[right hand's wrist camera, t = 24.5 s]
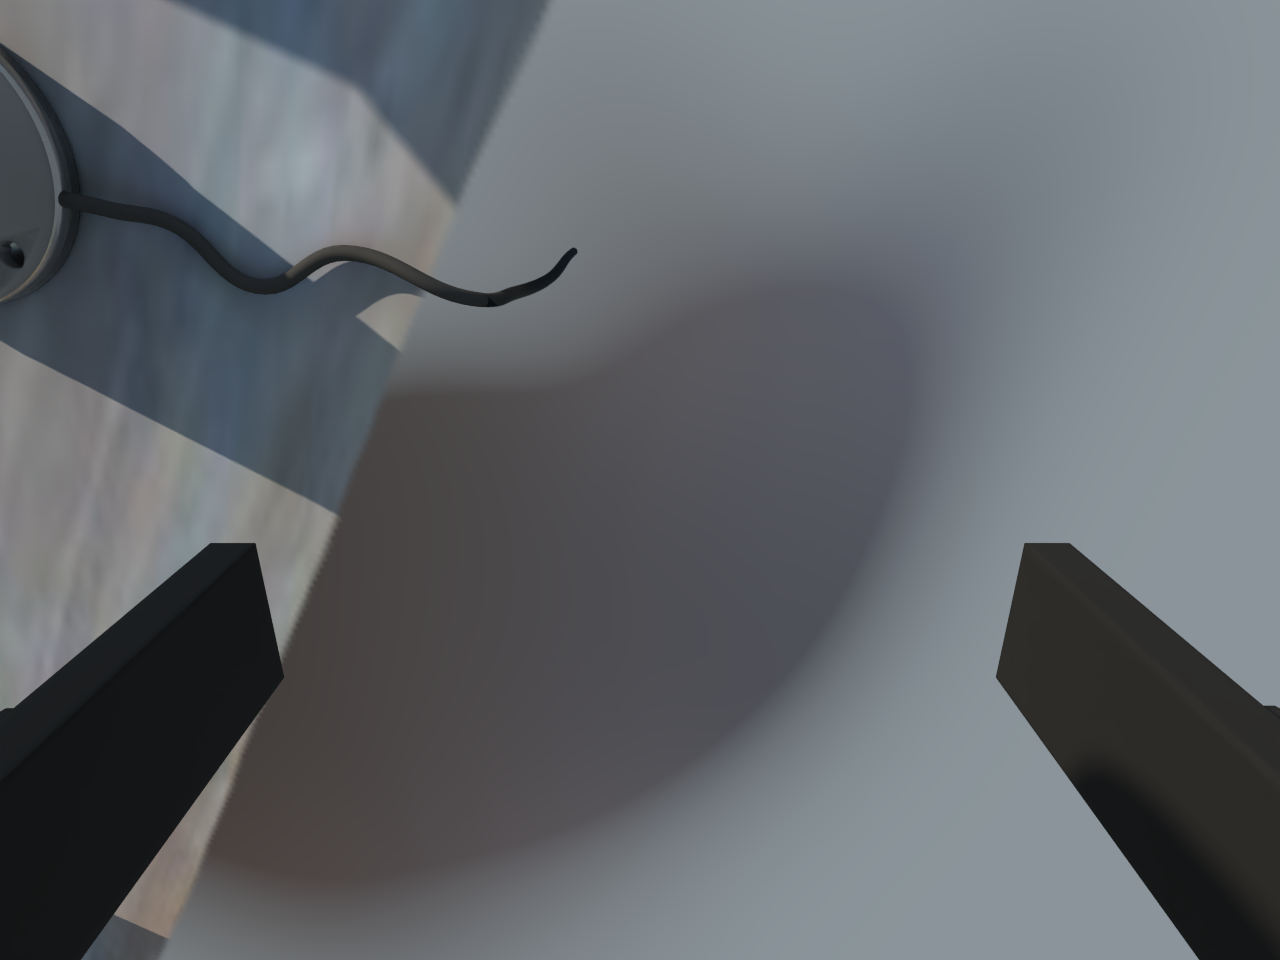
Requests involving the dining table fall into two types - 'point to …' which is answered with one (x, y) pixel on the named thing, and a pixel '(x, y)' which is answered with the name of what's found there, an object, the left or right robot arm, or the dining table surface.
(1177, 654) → the right robot arm
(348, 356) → the dining table surface
